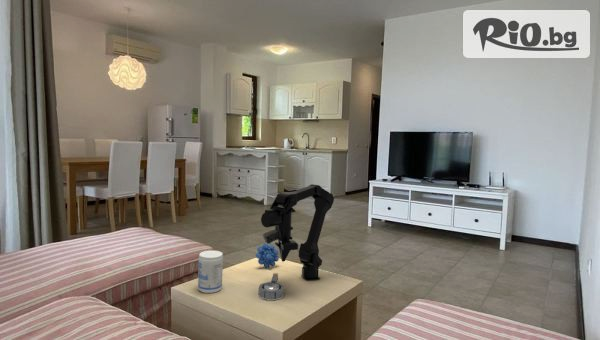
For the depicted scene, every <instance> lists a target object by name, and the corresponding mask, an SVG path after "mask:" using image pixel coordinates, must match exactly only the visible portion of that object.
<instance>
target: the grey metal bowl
mask: <svg viewBox="0 0 600 340" xmlns="http://www.w3.org/2000/svg"><path fill="white" fill-rule="evenodd" d="M264 289H265V290H269V291H275V290H278V289H279V285H278V284H274V283H270V284H266V285H264ZM258 297H259V299H260V300H261V299H262V300H263V301H268V302H269V301H279V300H281V299H283V298H284V297H285V295H284V296H282V297H279V298H275V299H271V298H263V297H262V296H260V295H259V294H258Z"/></svg>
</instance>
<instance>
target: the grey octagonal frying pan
mask: <svg viewBox="0 0 600 340" xmlns="http://www.w3.org/2000/svg"><path fill="white" fill-rule="evenodd" d="M271 277H272V278H271V280H270V281H266V282H262V283H260V284H259V286H258V296H259V295H260V296H262V297H263V298H271V299H275V298H279V297H282V296H284V297H285V284H284V283H281V282H279V273H277V272H276V273H275V272H273V274H272V276H271ZM270 283H274V284H278V285H279V289H278V290H275V291H269V290H265V289H264V285H266V284H270Z"/></svg>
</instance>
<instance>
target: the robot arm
mask: <svg viewBox="0 0 600 340" xmlns="http://www.w3.org/2000/svg"><path fill="white" fill-rule="evenodd" d="M307 198H313V199H314V202H313V205H314V209H315V211H314V214H313V218H312V221H311V225H310V228H309V231H308V235H307V238H306V241H304V242H303V243H300V245H299V243H298V242H296V241H295V239H294V240H293V236H292V230H293V229H294V227H293V226H292V217H293V216H292V215H293V214H292V213H296V210H295V209H294V208H293V207H295V206H296V205H297V204H298V202H300V201H303V200H305V199H307ZM334 201H335V197H334V195H333V194H332V193H331V192H329V191H328V190H326V189H325V188H323V187H322V186H321V185H318V184H310V185H307V186H305V187H302V188H300V189H296V190H294V191H283V192H278V193H277V194H276V197H275V198H274V200H273V202H272V205H270V208H269V209H265V210H264V213H263V214H262V215H261V217H260V221H261V224H262V226H263V227H264V228H272V227H274V229H272V230H269V231H267V232H265V233H263V234H262V236H263V240H264V242H265V243H266V244H268V245H270V244H271V243H272V242H274V244H275V246H277V248H278V252H279V255H280V259H281V262H285V261H286V259H287V257H288V256H289V254H290V252H291V251H297V250H298V251H297V252H298V258H299V262H300V263H301V264H302V267H301V277H302V278H303V279H304V280H305V281H314V280H315V281H316V280H320V276H319V268H320V266H322V264H323V260H322V258H321V257H320V256H319V252H320V251H319V250H320V249H319V245H318V243H319V239H320V235H321V232H322V229H323V225H324V222H325V218H326V214H327V213H328V212H329V211H330V209H332V207H333V205H334ZM275 241H276V242H275Z"/></svg>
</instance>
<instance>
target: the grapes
mask: <svg viewBox="0 0 600 340" xmlns="http://www.w3.org/2000/svg"><path fill="white" fill-rule="evenodd" d="M256 250H257V252H256V253H255V257H256V259H257V260H258V261H257V262H258V264H259V265H262V266H263V267H264V268H267V269H268V268H269V267H275V266H276V262H278V261H279V259H280V258H279V256H278V255H279V254H280V251H279V249H276V248H275V245H274V244H271V243H269V244H267V243H266V242H265V243H263V244H262V246H257V249H256Z"/></svg>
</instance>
